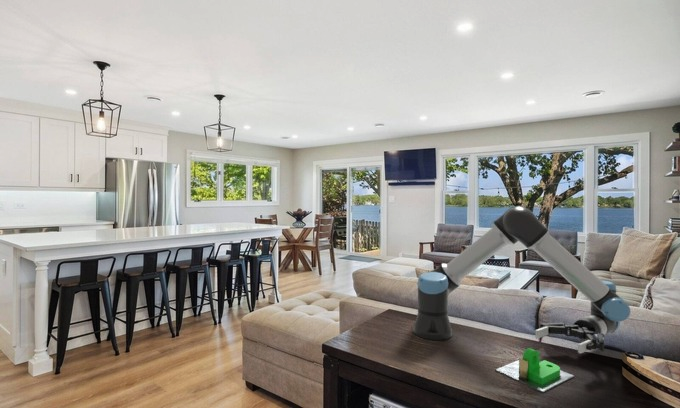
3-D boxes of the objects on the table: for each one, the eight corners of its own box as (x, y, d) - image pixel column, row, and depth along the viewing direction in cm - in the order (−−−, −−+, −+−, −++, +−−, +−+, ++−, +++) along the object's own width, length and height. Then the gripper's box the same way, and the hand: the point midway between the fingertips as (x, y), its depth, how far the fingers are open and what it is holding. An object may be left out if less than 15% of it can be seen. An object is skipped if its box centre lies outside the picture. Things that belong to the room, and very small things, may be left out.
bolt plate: (495, 370, 115) (495, 352, 115) (526, 357, 124) (527, 340, 124) (542, 392, 102) (542, 371, 102) (574, 376, 111) (574, 357, 111)
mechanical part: (542, 384, 106) (542, 357, 105) (522, 376, 111) (522, 350, 110) (563, 374, 112) (564, 348, 112) (544, 366, 117) (544, 341, 117)
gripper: (631, 352, 119) (599, 368, 108) (553, 327, 140) (520, 339, 129) (631, 329, 119) (600, 343, 108) (553, 308, 140) (521, 318, 129)
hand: (556, 341), depth 118 cm, fingers open, 13 cm apart
